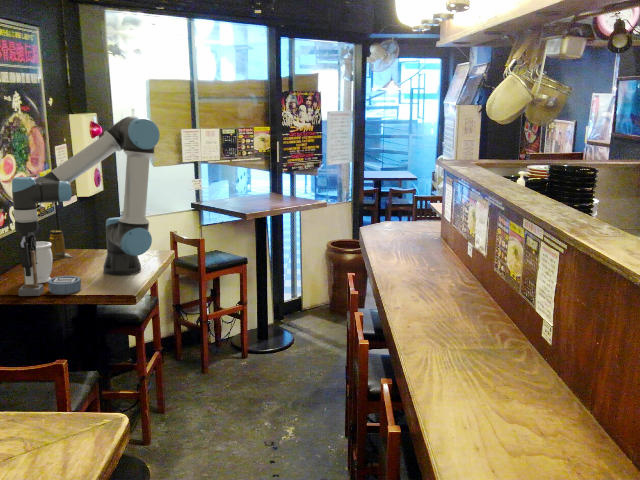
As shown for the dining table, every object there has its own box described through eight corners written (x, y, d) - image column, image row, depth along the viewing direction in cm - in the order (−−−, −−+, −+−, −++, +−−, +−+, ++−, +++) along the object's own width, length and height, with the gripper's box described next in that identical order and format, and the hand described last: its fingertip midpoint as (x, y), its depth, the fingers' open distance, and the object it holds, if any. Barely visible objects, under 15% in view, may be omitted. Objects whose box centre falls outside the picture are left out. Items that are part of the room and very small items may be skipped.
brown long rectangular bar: (38, 292, 224) (35, 250, 220) (36, 294, 222) (33, 251, 219) (26, 292, 223) (23, 250, 220) (25, 294, 221) (21, 252, 218)
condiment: (48, 256, 275) (46, 230, 272) (67, 254, 280) (66, 228, 277) (52, 259, 269) (50, 233, 267) (72, 257, 274) (70, 231, 272)
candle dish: (83, 285, 234) (83, 275, 233) (77, 294, 224) (76, 284, 223) (53, 286, 232) (53, 276, 231) (45, 294, 222) (45, 284, 221)
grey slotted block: (43, 290, 226) (43, 284, 225) (39, 295, 221) (39, 289, 220) (23, 291, 225) (23, 284, 224) (19, 296, 219) (18, 289, 219)
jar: (42, 286, 232) (39, 248, 229) (18, 283, 234) (15, 245, 231) (59, 278, 242) (57, 242, 239) (36, 276, 244) (34, 240, 241)
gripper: (21, 216, 223) (26, 277, 228) (7, 224, 209) (13, 289, 214) (43, 216, 224) (47, 277, 230) (31, 224, 210) (35, 289, 215)
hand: (30, 282), depth 222 cm, fingers closed on brown long rectangular bar, 2 cm apart
